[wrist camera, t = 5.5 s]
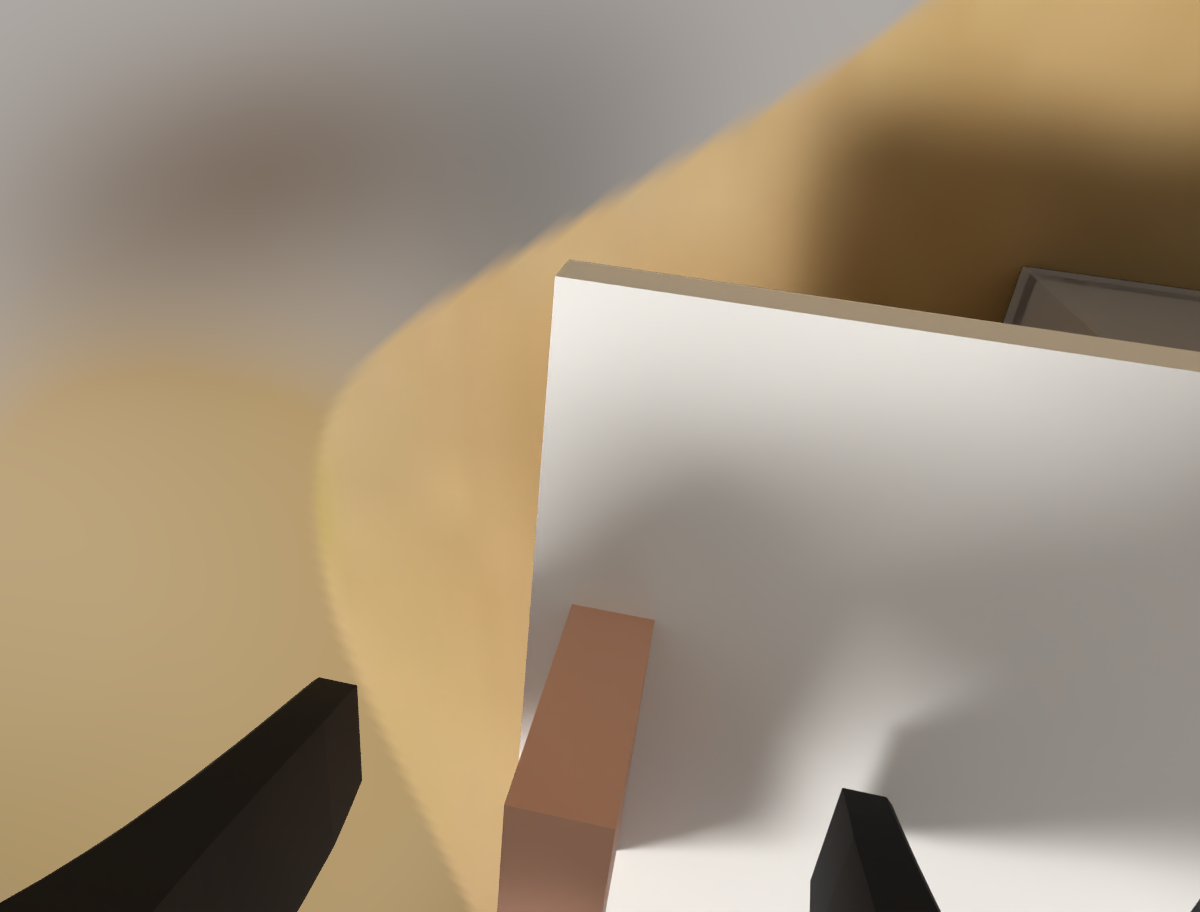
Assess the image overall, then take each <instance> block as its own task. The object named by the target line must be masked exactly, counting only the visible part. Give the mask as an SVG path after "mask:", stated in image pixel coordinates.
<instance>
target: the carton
mask: <svg viewBox="0 0 1200 912" xmlns="http://www.w3.org/2000/svg"><path fill="white" fill-rule="evenodd" d="M1003 323H1006V324H1013V325H1019V326H1026V327H1033V328H1040V329H1047V330H1053V331H1060V332H1067V333H1074V334H1081V335H1088V336H1094V337H1101V338H1108V339H1115V340H1122V341H1128V342H1135V343H1142V344H1149V345H1156V346H1163V347H1169V348H1176V349H1183V350H1190V351H1197V352H1200V291H1197V290H1190V289H1183V288H1175V287H1168V286H1161V285H1154V284H1147V283H1139V282H1132V281H1125V280H1118V279H1111V278H1103V277H1096V276H1089V275H1082V274H1075V273H1067V272H1060V271H1053V270H1046V269H1039V268H1032V267H1024V266H1023V267H1022V269H1021V272H1020V275H1019V278H1018V281H1017V284H1016V287H1015V290H1014V293H1013V296H1012V299H1011V301H1010V304H1009V307H1008V310H1007V313H1006V316H1005V319H1004V322H1003ZM1191 912H1200V899H1199V901H1198V902H1197V903H1196V905H1195V906H1194V908H1193V909H1192V911H1191Z"/></svg>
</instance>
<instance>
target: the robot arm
mask: <svg viewBox="0 0 1200 912" xmlns="http://www.w3.org/2000/svg"><path fill="white" fill-rule="evenodd" d="M361 781H362V772H361V752H360V734H359V715H358V696H357V685H352V684H348V683H343V682H338V681H333V680H329V679H324V678H317V679H316V680H314V681H313V682H311V683H310V684H309V685H308V686H306V687H305V688H304V689H303V690H301V691H300V692H299V693H298V694H297V695H295V696H294V697H293V698H292V699H291V700H290V701H288V702H287V703H286V704H285V705H283V706H282V707H281V708H280V709H278V710H277V711H276V712H275V713H274V714H272V715H271V716H270V717H269V718H267V719H266V720H265V721H264V722H263V723H261V724H260V725H259V726H258V727H256V728H255V729H254V730H253V731H251V732H250V733H249V734H248V735H246V736H245V737H244V738H243V739H241V740H240V741H239V742H238V743H236V744H235V745H234V746H233V747H231V748H230V749H229V750H227V751H226V752H225V753H224V754H222V755H221V756H220V757H219V758H217V759H216V760H215V761H213V762H212V763H211V764H210V765H208V766H207V767H205V768H204V769H203V770H202V771H200V772H199V773H198V774H196V775H195V776H194V777H193V778H191V779H190V780H188V781H187V782H186V783H185V784H183V785H182V786H180V787H179V788H178V789H176V790H175V791H173V792H172V793H171V794H169V795H168V796H166V797H165V798H164V799H162V800H161V801H159V802H158V803H157V804H155V805H154V806H152V807H151V808H150V809H148V810H147V811H145V812H144V813H143V814H141V815H140V816H138V817H137V818H136V819H134V820H133V821H131V822H130V823H128V824H127V825H126V826H124V827H123V828H121V829H120V830H118V831H117V832H115V833H114V834H112V835H111V836H109V837H108V838H106V839H105V840H103V841H102V842H100V843H99V844H97V845H95V846H94V847H92V848H91V849H89V850H88V851H86V852H85V853H83V854H81V855H80V856H78V857H77V858H75V859H73V860H72V861H70V862H69V863H67V864H65V865H64V866H62V867H60V868H59V869H57V870H56V871H54V872H52V873H51V874H49V875H48V876H46V877H44V878H43V879H41V880H39V881H38V882H36V883H34V884H32V885H30V886H29V887H27V888H25V889H23V890H22V891H20V892H18V893H16V894H15V895H13V896H11V897H10V898H8V899H6V900H4V901H2V902H1V903H0V912H297V911H298V910H299V908H300V906H301V904H302V903H303V901H304V899H305V897H306V896H307V894H308V892H309V890H310V888H311V887H312V885H313V883H314V881H315V880H316V877H317V876H318V874H319V872H320V871H321V868H322V867H323V865H324V863H325V862H326V860H327V858H328V856H329V854H330V852H331V851H332V849H333V847H334V845H335V843H336V840H337V838H338V836H339V834H340V831H341V829H342V827H343V824H344V822H345V820H346V817H347V815H348V813H349V810H350V808H351V806H352V803H353V801H354V798H355V796H356V794H357V791H358V789H359V786H360V784H361ZM810 912H941V910H940V908H939V906H938V904H937V902H936V900H935V898H934V896H933V894H932V892H931V890H930V888H929V886H928V884H927V882H926V880H925V877H924V875H923V873H922V871H921V869H920V867H919V865H918V863H917V860H916V858H915V856H914V854H913V852H912V849H911V847H910V845H909V843H908V840H907V838H906V836H905V834H904V831H903V829H902V827H901V824H900V822H899V820H898V818H897V815H896V813H895V810H894V808H893V806H892V804H891V803H890V801H889V800H888V798H887V797H884V796H879V795H875V794H870V793H865V792H860V791H856V790H851V789H846V788H842V790H841V793H840V796H839V798H838V801H837V804H836V807H835V810H834V813H833V816H832V819H831V822H830V825H829V828H828V830H827V833H826V836H825V839H824V842H823V845H822V848H821V851H820V854H819V857H818V860H817V862H816V865H815V868H814V871H813V874H812V877H811V880H810Z"/></svg>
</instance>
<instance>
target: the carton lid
mask: <svg viewBox="0 0 1200 912" xmlns="http://www.w3.org/2000/svg"><path fill="white" fill-rule="evenodd" d="M842 788H846V789H851V790H856V791H860V792H865V793H870V794H875V795H879V796H884V797H887V798H888V800H889V801H890V803H891V804H892V806H893V808H894V810H895V813H896V815H897V818H898V820H899V822H900V824H901V827H902V829H903V831H904V834H905V836H906V838H907V840H908V843H909V845H910V847H911V849H912V852H913V854H914V856H915V858H916V860H917V863H918V865H919V867H920V869H921V871H922V873H923V875H924V877H925V880H926V882H927V884H928V886H929V888H930V890H931V892H932V894H933V896H934V898H935V900H936V902H937V904H938V906H939V908H940V910H941V912H1191V911H1192V909H1193V908H1194V906H1195V905H1196V903H1197V902H1198V901H1199V899H1200V352H1197V351H1190V350H1183V349H1176V348H1169V347H1163V346H1156V345H1149V344H1142V343H1135V342H1128V341H1122V340H1115V339H1108V338H1101V337H1094V336H1088V335H1081V334H1074V333H1067V332H1060V331H1053V330H1047V329H1040V328H1033V327H1026V326H1019V325H1013V324H1006V323H999V322H992V321H985V320H978V319H972V318H965V317H958V316H951V315H944V314H937V313H931V312H924V311H917V310H910V309H903V308H897V307H890V306H883V305H876V304H869V303H862V302H856V301H849V300H842V299H835V298H828V297H822V296H815V295H808V294H801V293H794V292H787V291H781V290H774V289H767V288H760V287H753V286H747V285H740V284H733V283H726V282H719V281H712V280H706V279H699V278H692V277H685V276H678V275H671V274H665V273H658V272H651V271H644V270H637V269H631V268H624V267H617V266H610V265H603V264H596V263H590V262H583V261H576V260H569V261H568V262H567V263H566V264H565V265H564V266H563V268H562V269H561V270H560V271H559V272H558V273H557V275H556V276H555V285H554V299H553V312H552V325H551V339H550V352H549V365H548V379H547V392H546V406H545V419H544V432H543V446H542V459H541V472H540V486H539V499H538V512H537V526H536V539H535V553H534V566H533V579H532V593H531V606H530V619H529V633H528V646H527V660H526V673H525V686H524V700H523V713H522V726H521V740H520V753H519V763H518V766H517V769H516V772H515V775H514V778H513V781H512V784H511V786H510V789H509V792H508V795H507V798H506V801H505V804H504V817H503V833H502V848H501V863H500V879H499V894H498V909H497V912H810V880H811V877H812V874H813V871H814V868H815V865H816V862H817V860H818V857H819V854H820V851H821V848H822V845H823V842H824V839H825V836H826V833H827V830H828V828H829V825H830V822H831V819H832V816H833V813H834V810H835V807H836V804H837V801H838V798H839V796H840V793H841V790H842Z"/></svg>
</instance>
